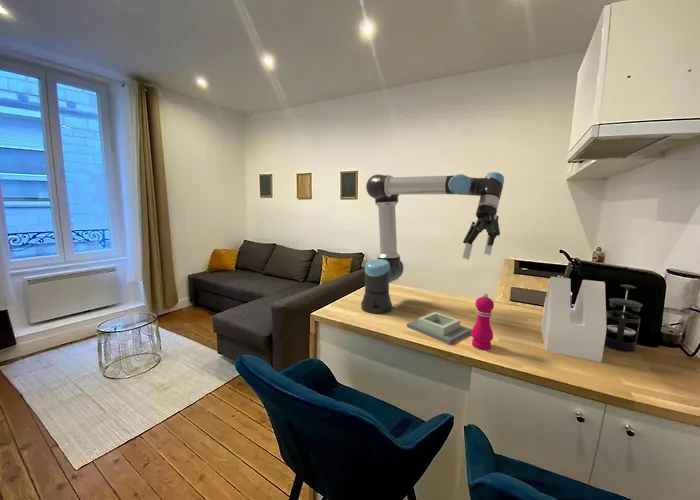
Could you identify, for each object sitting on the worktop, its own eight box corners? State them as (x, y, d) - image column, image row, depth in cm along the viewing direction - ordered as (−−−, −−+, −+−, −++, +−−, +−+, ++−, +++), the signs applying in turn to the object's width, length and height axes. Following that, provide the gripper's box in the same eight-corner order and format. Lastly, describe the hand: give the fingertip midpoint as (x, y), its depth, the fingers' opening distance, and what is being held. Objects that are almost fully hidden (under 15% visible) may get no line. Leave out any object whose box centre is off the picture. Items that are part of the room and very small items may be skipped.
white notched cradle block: (601, 362, 99) (612, 289, 95) (546, 351, 106) (554, 283, 102) (588, 339, 116) (597, 276, 112) (541, 331, 123) (548, 271, 119)
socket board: (406, 326, 125) (407, 316, 125) (429, 317, 136) (430, 308, 135) (449, 344, 110) (450, 332, 110) (471, 332, 120) (472, 322, 120)
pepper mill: (466, 341, 113) (470, 290, 109) (485, 341, 113) (489, 290, 110) (476, 351, 105) (480, 296, 102) (496, 350, 106) (501, 296, 103)
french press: (635, 355, 103) (646, 291, 99) (600, 346, 110) (609, 285, 106) (636, 344, 111) (646, 284, 108) (603, 336, 118) (612, 279, 114)
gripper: (517, 202, 111) (506, 255, 107) (476, 219, 136) (465, 263, 131) (500, 194, 110) (487, 247, 106) (462, 213, 134) (450, 257, 130)
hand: (475, 256), depth 118 cm, fingers open, 13 cm apart
